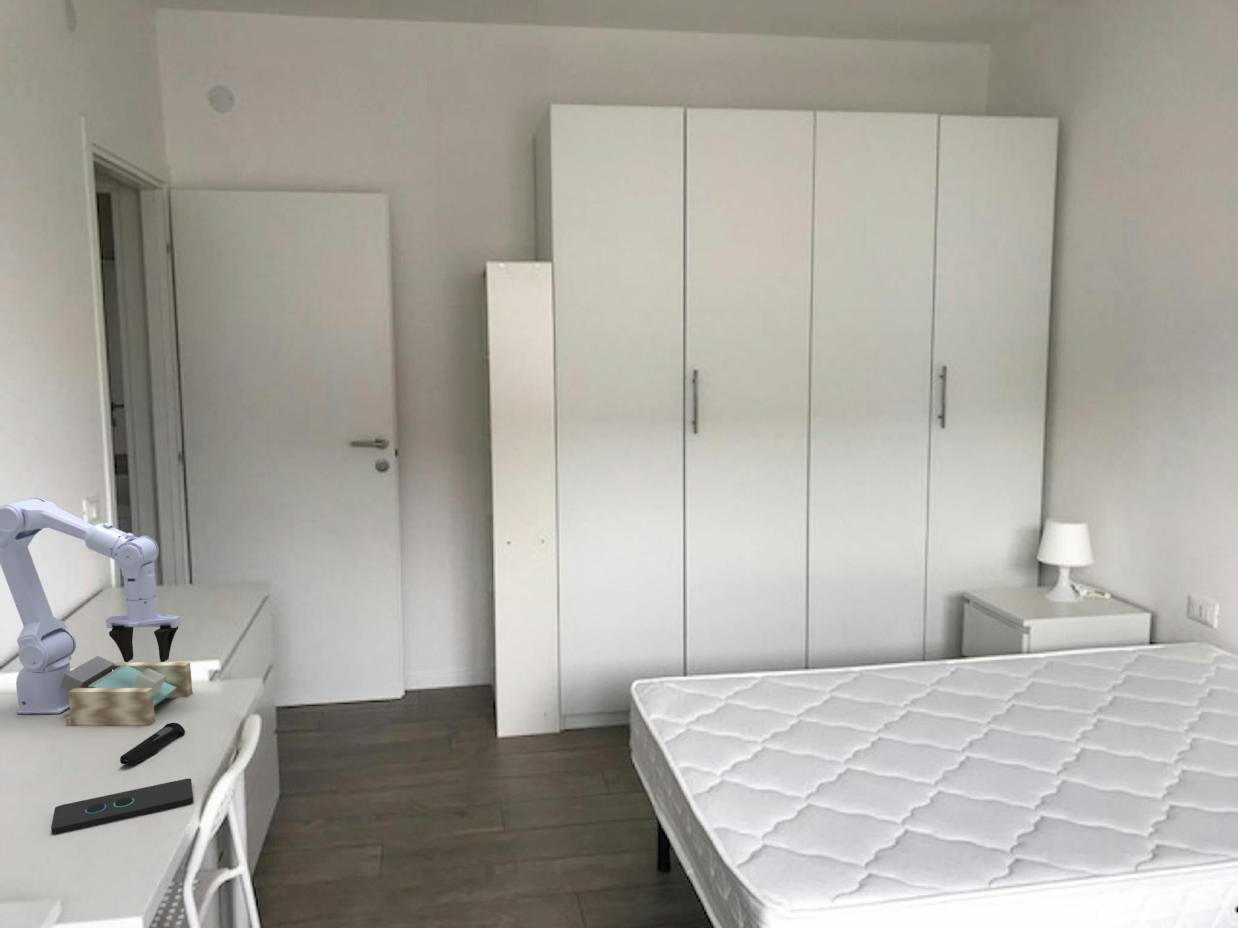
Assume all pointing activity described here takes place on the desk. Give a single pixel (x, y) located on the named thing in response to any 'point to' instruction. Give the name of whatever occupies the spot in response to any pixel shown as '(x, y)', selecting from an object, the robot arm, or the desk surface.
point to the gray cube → (150, 680)
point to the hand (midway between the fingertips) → (146, 660)
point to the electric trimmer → (152, 743)
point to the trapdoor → (108, 678)
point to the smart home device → (121, 806)
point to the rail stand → (126, 697)
